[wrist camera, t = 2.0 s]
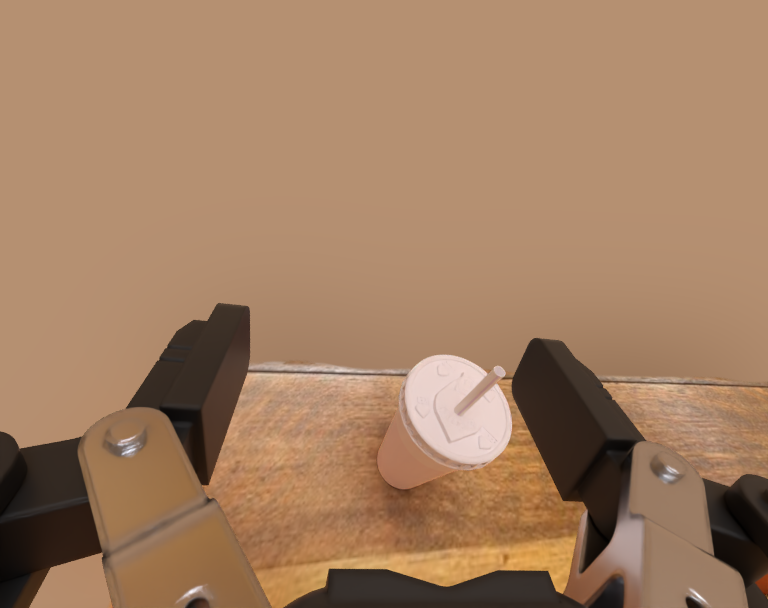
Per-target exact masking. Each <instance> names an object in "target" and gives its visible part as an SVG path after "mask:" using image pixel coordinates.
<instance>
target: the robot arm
mask: <svg viewBox="0 0 768 608" xmlns="http://www.w3.org/2000/svg"><path fill="white" fill-rule="evenodd" d="M249 359H250V310H249V307H248V306H241V305H232V304H223V303H222V304H221V303H218V304H217V305H216V307H215V309H214V310H213V312H212V314H211V316H210V317H209V319H208V321H200V320H193V321H191V322H190V323H188V324H187V325H185V326H184V327H183V328H181V329H180V330H178V331H177V332H176V333H175V335H174V336H173V338H172V339H171V341H170V342H169V344H168V347H167V348H166V349H165V350H164V352H163V353H162V355H161V356H160V360H159V361H157V362H156V364H155V365H154V367H153V368H152V370H151V371H150V373H149V374H148V376H147V377H146V379H145V380H144V382H143V384H142V385H141V386H140V388H139V390H138V391H137V392H136V394H135V395H134V397H133V398H132V400H131V401H130V403H129V404H128V406H127V407H126V409H124V410H120V411H117V412H115V413H112V414H110V415H108V416H106V417H104V418H102V419H101V420H99V421H98V422H96V423H95V424H94V425H92V426H91V427H90V428H89V429H88V430H87V431H86V432H85V434H84V435H83V436H82V437H79V438H75V439H70V440H65V441H61V442H54V443H49V444H43V445H38V446H32V447H27V448H21V449H19V447H18V444H17V443H16V441H15V439H14V438H13V437H12V436H10V435H9V434H7V433H4V432H0V608H29V607H30V605H31V603H32V601H33V599H34V597H35V595H36V594H37V592H38V590H39V588H40V586H41V584H42V582H43V581H44V579H45V577H46V575H47V573H48V571H49V570H50V568H51V567H53V566H57V565H61V564H64V563H67V562H71V561H74V560H78V559H81V558H85V557H88V556H91V555H95V554H98V553H101V552H102V553H103V557H102V563H103V569H104V573H105V577H106V582H107V585H108V589H109V594H110V598H111V602H112V606H113V608H272V607H271V605H270V603H269V601H268V599H267V597H266V595H265V593H264V591H263V589H262V587H261V585H260V583H259V581H258V579H257V577H256V575H255V573H254V571H253V569H252V567H251V565H250V563H249V561H248V559H247V557H246V555H245V554H244V552H243V550H242V548H241V546H240V544H239V542H238V540H237V538H236V536H235V534H234V532H233V530H232V528H231V526H230V524H229V522H228V520H227V518H226V516H225V514H224V512H223V510H222V508H221V507H220V505H219V503H218V502H217V501H216V500H215V499H214V498H212V499H209V498H208V497H207V495H206V493H205V491H204V489H203V487H202V485H209V482H210V479H211V476H212V474H213V471H214V468H215V465H216V462H217V459H218V456H219V453H220V450H221V447H222V444H223V442H224V439H225V436H226V433H227V430H228V427H229V424H230V421H231V418H232V415H233V413H234V410H235V407H236V404H237V401H238V398H239V395H240V392H241V389H242V386H243V384H244V381H245V378H246V375H247V371H248V366H249ZM512 394H513V398H514V400H515V402H516V404H517V406H518V408H519V410H520V412H521V415H522V417H523V419H524V421H525V423H526V425H527V427H528V429H529V431H530V433H531V435H532V437H533V439H534V442H535V444H536V446H537V448H538V450H539V452H540V454H541V456H542V458H543V460H544V462H545V464H546V466H547V468H548V471H549V473H550V475H551V477H552V479H553V481H554V483H555V485H556V487H557V489H558V491H559V493H560V495H561V498H562V500H563V501H578V502H584V504H585V506H586V509H585V511H584V512H583V513H582V515H581V518H580V523H579V528H578V533H577V538H576V544H575V549H574V554H573V559H572V564H571V570H570V575H569V579H568V583H567V586H566V588H565V591H564V593H563V594H561V593H559V592H556V590H555V588H554V585H553V582H552V580H551V577H550V575H549V572H548V571H503V570H498V571H495V572H492V573H489V574H486V575H483V576H480V577H477V578H474V579H471V580H468V581H465V582H462V583H459V584H456V585H454V586H450V587H443V586H439V585H436V584H433V583H429V582H426V581H423V580H419V579H416V578H413V577H410V576H406V575H403V574H400V573H397V572H393V571H390V570H387V569H329V572H328V577H327V581H326V586H325V587H324V588H321V589H318V590H315V591H312V592H310V593H308V594H306V595H304V596H302V597H299V598H298V599H296V600H294V601H293V602H291V603H290V604H288V605H287V606H285V607H284V608H768V599H767V598H766V597H765V595H764V594H763V592H762V591H761V590H760V588H759V587H758V586H757V584H756V583H755V582H757V581H758V580H759V579H761V578H762V577H764V576H765V575H766V574H768V479H766V478H763V477H760V476H757V475H752V474H746V475H743V476H741V477H740V478H739V479H738V480H737V481H736V482H735V483H734V484H733V485H732V486H731V487H728V486H725V485H722V484H719V483H716V482H713V481H710V480H707V479H704V478H701V476H700V475H699V473H698V472H697V470H696V469H695V468H694V467H693V466H692V465H691V464H690V463H689V462H688V461H687V460H686V459H685V458H683V457H682V456H681V455H679V454H678V453H676V452H675V451H673V450H671V449H670V448H668V447H666V446H663V445H661V444H658V443H655V442H651V441H646V440H645V439H644V437H643V436H642V435H641V433H640V432H639V431H638V430H637V428H636V427H635V426H634V424H633V423H632V422H631V421H630V419H629V418H628V417H627V415H626V414H625V413H624V412H623V410H622V409H621V408H620V407H619V405H618V404H617V403H616V401H615V400H612V396H611V395H610V394H609V392H608V391H607V390H606V389H605V388H603V385H602V383H601V382H600V381H599V380H598V378H597V377H596V376H595V374H594V373H593V372H592V371H591V370H589V369H588V368H587V367H586V366H584V365H583V364H582V363H581V362H579V361H578V360H577V359H576V358H575V357H574V356H573V355H572V353H571V352H570V351H569V349H568V348H567V346H566V345H565V344H564V343H563V342H562V341H559V340H549V339H540V338H534V339H532V340H531V341H530V343H529V345H528V347H527V349H526V351H525V353H524V355H523V357H522V360H521V362H520V364H519V366H518V368H517V370H516V372H515V375H514V377H513V380H512Z"/></svg>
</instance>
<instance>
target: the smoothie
mask: <svg viewBox="0 0 768 608" xmlns="http://www.w3.org/2000/svg"><path fill="white" fill-rule="evenodd" d="M504 376H505V371H504V369H503V368H502V367H500V366H496V367H495V368H493V369H492V370H491V371H490V372H489V373H488V374H487V373H486V372H485V371H484V370H483V369H481V368H480V367H479V366H477V365H475V364H474V363H472V362H470V361H468V360H466V359H463V358H461V357H457V356H453V355H435V356H431V357H428V358H426V359H424V360H422V361H421V362H419V363H418V364H417V365H416V366H415V367H414V368H413V369H412V371H410V372H409V373H408V375H407V376H406V378H405V379H404V381H403V383H402V385H401V389H400V393H399V405H398V407H397V410H396V412H395V414H394V417H393V419H392V421H391V423H390V426H389V428H388V430H387V432H386V435H385V437H384V439H383V442H382V444H381V446H380V448H379V451H378V454H377V465H378V469H379V472H380V474H381V476H382V477H383V478H384V480H385V481H386V482H387V483H388V484H390V485H391V486H393V487H395V488H398V489H410V488H413V487H416V486H418V485H421V484H423V483H426V482H429V481H431V480H434V479H436V478H439V477H441V476H444V475H446V474H449V473H452V472H454V471H457V470H466V471H469V470H474V469H478V468H482V467H484V466H485V465H487V464H488V463H490V462H492V461H493V460H494V459H495V458H496V457H497V456H498V455H500V454H501V453H502V452H503V450H504V449H505V448H506V446H507V444H508V442H509V439H510V436H511V430H512V419H511V413H510V409H509V405H508V403H507V400H506V398H505V396H504V394H503V392H502V391H501V389H500V387H499V386H498V385H497V382H498V381H500V380H501V379H502V378H503V377H504Z"/></svg>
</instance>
